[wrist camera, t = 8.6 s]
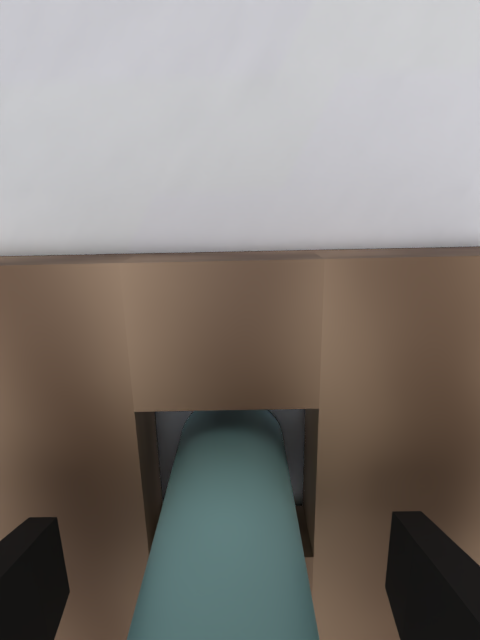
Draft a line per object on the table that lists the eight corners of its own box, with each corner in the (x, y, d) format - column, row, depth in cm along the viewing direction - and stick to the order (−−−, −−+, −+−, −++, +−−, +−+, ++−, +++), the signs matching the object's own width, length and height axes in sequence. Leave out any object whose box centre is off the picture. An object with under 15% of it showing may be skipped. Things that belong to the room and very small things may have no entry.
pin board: (62, 714, 16) (-17, 938, 11) (-31, 257, 11) (-250, 294, 6) (416, 710, 16) (496, 935, 11) (483, 246, 11) (681, 276, 6)
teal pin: (183, 487, 13) (96, 905, 5) (177, 397, 12) (64, 738, 4) (281, 486, 13) (343, 904, 5) (283, 396, 12) (361, 736, 4)
